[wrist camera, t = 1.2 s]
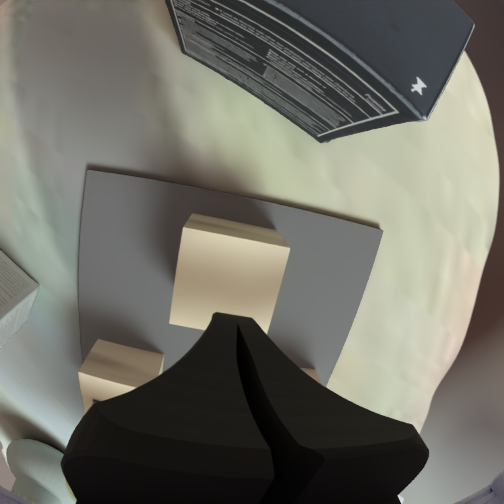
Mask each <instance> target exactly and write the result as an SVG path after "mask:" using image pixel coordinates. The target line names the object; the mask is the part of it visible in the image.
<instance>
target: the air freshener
mask: <svg viewBox="0 0 504 504" xmlns="http://www.w3.org/2000/svg"><path fill="white" fill-rule="evenodd" d="M6 455H7V462H8V465H9V467H10V469H11V471H12V473H13V474H14V476H15V477H16V480H15V483H14V485H13V487H12V490H11V492H12V493H14V494H16V495H18V496H20V497H22V498H24V499H26V500H28V501H30V502H32V503H34V504H76V498H75V496H74V494H73V492H72V491H71V489H70V487H69V485H68V483H67V481H66V479H65V477H64V475H63V472H62V469H61V464H60V463H61V460H62V458H63V455H64V454H63V453H61V452H60V451H58V450H57V449H55V448H53V447H51V446H49V445H47V444H45V443H42V442H39V441H36V440H32V439H17V440H15V441H13V442H11V443H10V444H9V446H8V448H7V452H6Z"/></svg>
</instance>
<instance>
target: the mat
mask: <svg viewBox="0 0 504 504" xmlns="http://www.w3.org/2000/svg"><path fill="white" fill-rule="evenodd" d="M192 213H194V214H199V215H204V216H209V217H215V218H220V219H225V220H230V221H235V222H240V223H245V224H250V225H255V226H260V227H264V228H269V229H274V230H277V231H278V233H279V234H280V235H281V236H282V238H283V239H284V240H285V242H286V243H287V244H288V245H289V247H290V252H289V256H288V260H287V263H286V267H285V271H284V275H283V278H282V282H281V286H280V289H279V293H278V297H277V300H276V304H275V308H274V311H273V315H272V318H271V322H270V325H269V329H268V332H267V335H268V337H269V338H270V339H271V340H272V341H273V342H274V343H275V344H276V346H277V347H278V348H279V349H280V350H281V351H282V352H283V353H284V354H285V355H286V356H287V357H288V358H289V359H290V360H291V361H293V362H294V363H295V364H296V365H297V366H298V367H299V368H309V369H316V371H317V373H318V376H319V378H320V380H321V383H322V385H323V386H325V387H326V385H327V383H328V381H329V379H330V376H331V374H332V372H333V370H334V367H335V365H336V363H337V360H338V358H339V356H340V353H341V351H342V349H343V346H344V344H345V341H346V339H347V336H348V334H349V331H350V329H351V326H352V323H353V321H354V318H355V316H356V313H357V310H358V307H359V305H360V302H361V299H362V296H363V294H364V291H365V288H366V285H367V282H368V279H369V276H370V273H371V270H372V267H373V264H374V261H375V257H376V254H377V251H378V248H379V244H380V241H381V237H382V234H383V230H381V229H378V228H374V227H371V226H367V225H363V224H359V223H355V222H352V221H348V220H344V219H340V218H336V217H332V216H328V215H324V214H320V213H316V212H311V211H307V210H303V209H299V208H295V207H290V206H286V205H281V204H277V203H272V202H268V201H263V200H259V199H254V198H249V197H245V196H240V195H235V194H230V193H225V192H220V191H215V190H210V189H205V188H199V187H194V186H189V185H183V184H178V183H172V182H166V181H161V180H155V179H149V178H143V177H137V176H130V175H124V174H117V173H110V172H104V171H96V170H87V176H86V183H85V191H84V199H83V209H82V219H81V232H80V248H79V325H80V341H81V353H82V363H83V362H84V361H85V359H86V357H87V356H88V354H89V353H90V351H91V349H92V348H93V346H94V344H95V343H96V341H97V340H98V339H101V340H104V341H108V342H112V343H116V344H120V345H124V346H128V347H133V348H137V349H141V350H146V351H150V352H155V353H160V354H164V363H163V372H164V371H166V370H167V369H168V368H170V367H171V366H172V365H174V364H175V363H176V362H177V361H178V360H180V359H181V358H182V357H183V356H184V355H185V354H186V353H187V352H188V351H189V350H190V349H191V348H192V346H193V345H194V344H195V343H196V342H197V341H198V340H199V338H200V337H201V336H202V334H203V333H204V331H205V330H201V329H195V328H190V327H185V326H179V325H174V324H169V321H170V313H171V305H172V297H173V290H174V282H175V275H176V268H177V262H178V255H179V249H180V243H181V237H182V231H183V227H184V225H185V224H186V222H187V221H188V219H189V218H190V216H191V215H192Z"/></svg>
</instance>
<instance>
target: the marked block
mask: <svg viewBox="0 0 504 504" xmlns="http://www.w3.org/2000/svg"><path fill="white" fill-rule="evenodd" d="M163 363H164V354H160V353H155V352H150V351H146V350H141V349H137V348H133V347H128V346H124V345H120V344H116V343H112V342H108V341H104V340H101V339H98V340H97V341H96V343H95V344H94V346H93V348H92V349H91V351H90V353H89V354H88V356H87V357H86V359H85V361H84V362H83V364H82V366H81V367H80V369H79V371H78V376H79V383H80V390H81V396H82V402H83V408H84V413H85V414H86V412H87V411H88V410H89V408H90V407H91V406H92V405H93V404H94V403H97V402H100V401H104V400H107V399H110V398H113V397H116V396H118V395H121V394H124V393H127V392H129V391H131V390H133V389H135V388H137V387H139V386H141V385H143V384H145V383H147V382H149V381H151V380H152V379H154V378H155V377H157V376H159V375H160V374H161V373H163Z"/></svg>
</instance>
